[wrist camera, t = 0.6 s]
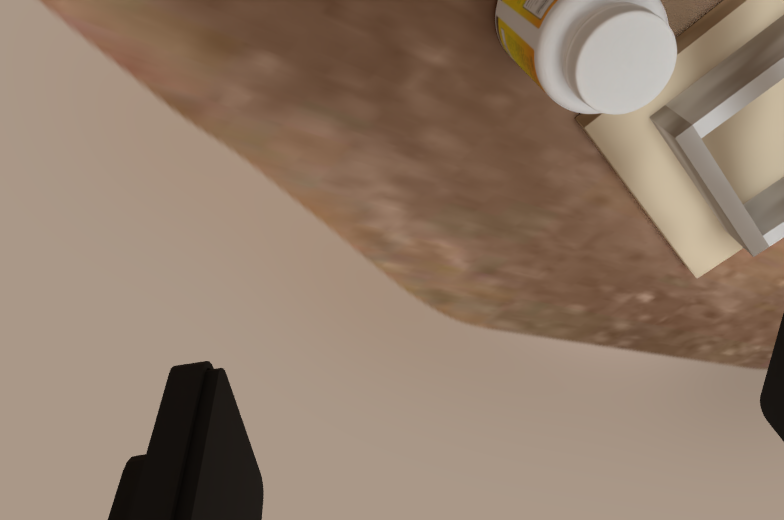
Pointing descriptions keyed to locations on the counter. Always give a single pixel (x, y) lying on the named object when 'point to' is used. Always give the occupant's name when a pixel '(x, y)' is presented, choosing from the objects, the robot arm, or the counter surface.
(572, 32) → the supplement bottle
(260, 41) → the counter surface
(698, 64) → the socket base
